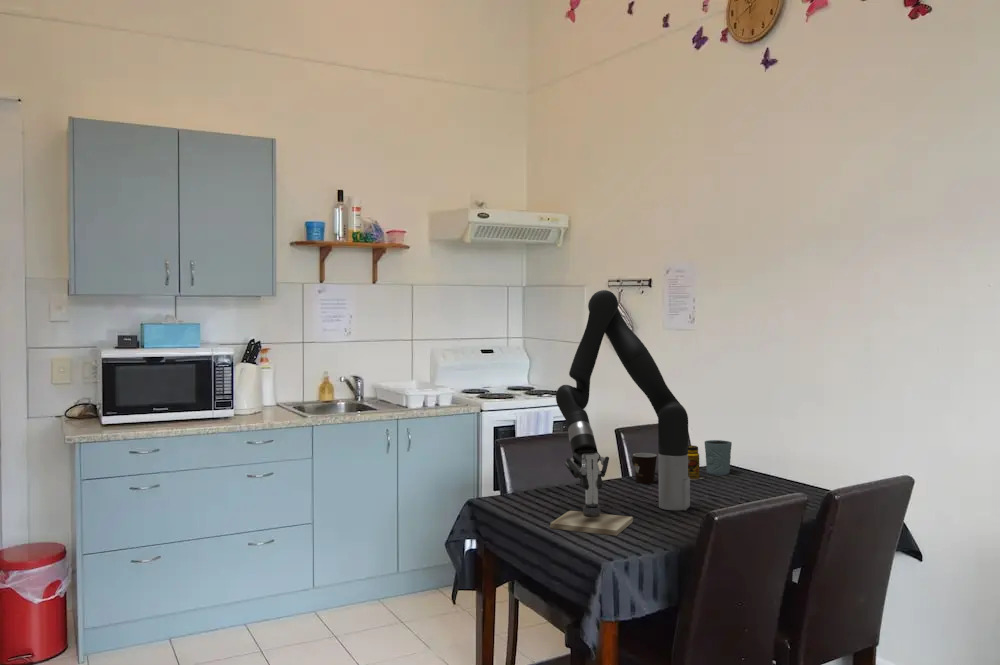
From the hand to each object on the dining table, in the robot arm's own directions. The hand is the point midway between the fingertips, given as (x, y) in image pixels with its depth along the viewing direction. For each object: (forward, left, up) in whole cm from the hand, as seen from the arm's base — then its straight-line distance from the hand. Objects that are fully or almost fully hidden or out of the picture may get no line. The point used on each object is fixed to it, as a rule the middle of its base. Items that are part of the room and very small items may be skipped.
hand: (593, 487), depth 232 cm
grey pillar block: (+1, -2, -8) cm, 9 cm away
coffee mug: (+3, -67, -12) cm, 68 cm away
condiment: (-11, -80, -12) cm, 81 cm away
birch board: (+1, -2, -11) cm, 12 cm away
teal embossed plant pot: (-19, -93, -12) cm, 95 cm away
